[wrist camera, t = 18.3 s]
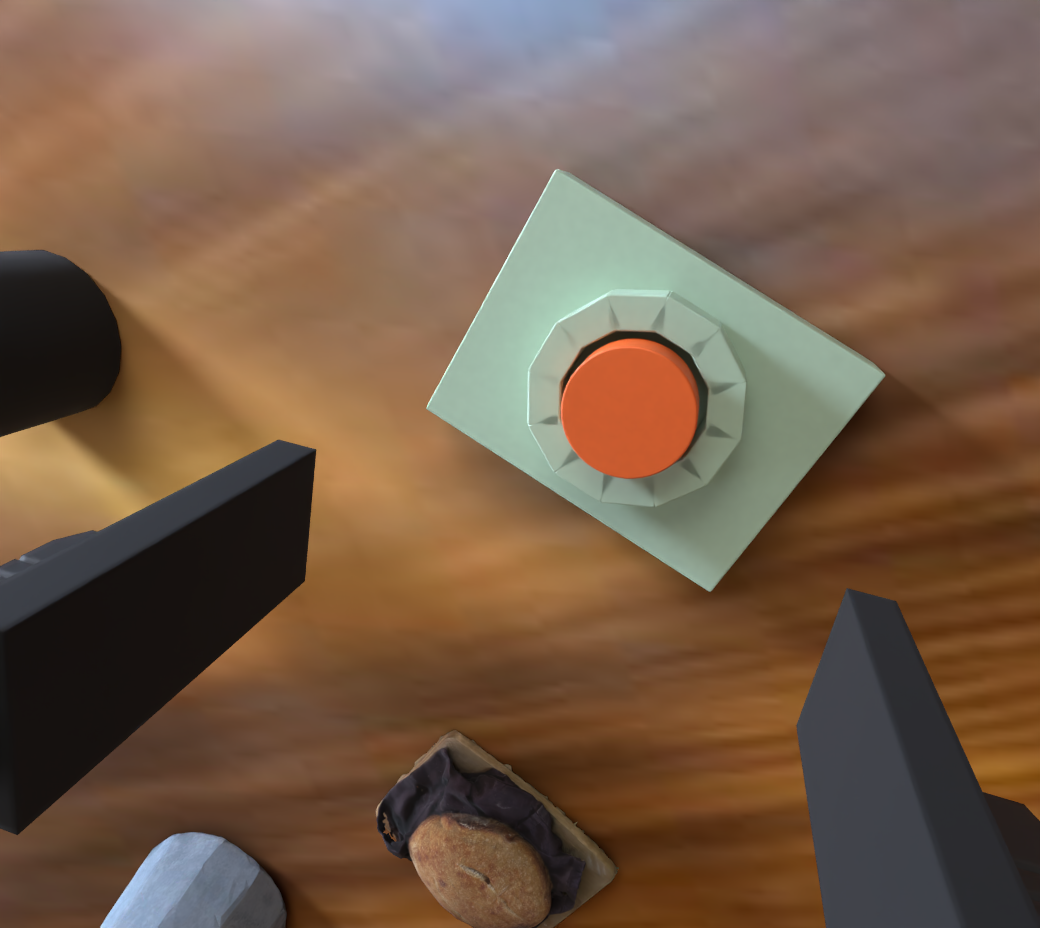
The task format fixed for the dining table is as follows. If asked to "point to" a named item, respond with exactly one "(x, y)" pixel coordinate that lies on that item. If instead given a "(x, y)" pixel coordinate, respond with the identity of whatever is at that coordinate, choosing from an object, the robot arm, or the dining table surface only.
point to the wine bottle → (52, 340)
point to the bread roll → (489, 840)
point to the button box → (685, 330)
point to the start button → (631, 408)
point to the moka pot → (198, 888)
